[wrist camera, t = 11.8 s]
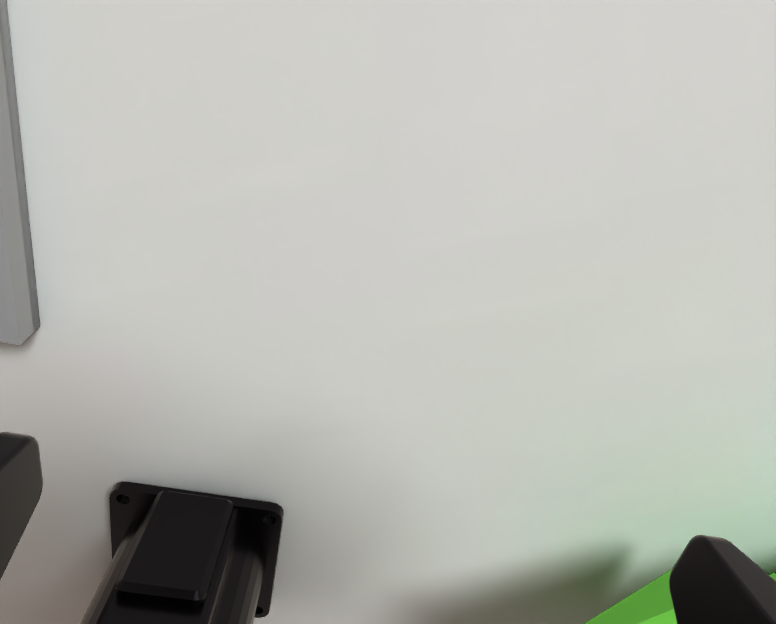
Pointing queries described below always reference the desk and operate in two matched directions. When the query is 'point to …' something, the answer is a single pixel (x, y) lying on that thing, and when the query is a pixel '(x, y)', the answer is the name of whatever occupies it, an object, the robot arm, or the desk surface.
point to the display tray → (13, 211)
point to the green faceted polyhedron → (644, 606)
